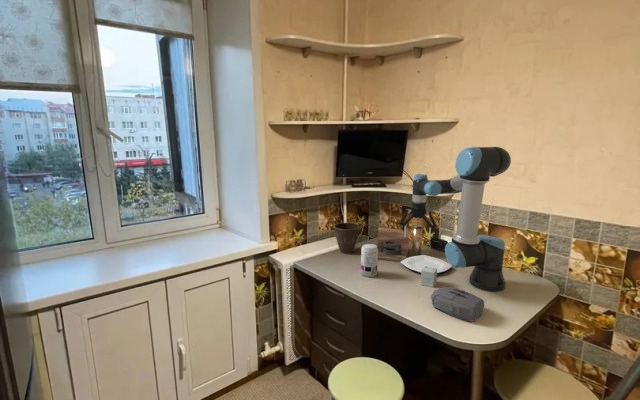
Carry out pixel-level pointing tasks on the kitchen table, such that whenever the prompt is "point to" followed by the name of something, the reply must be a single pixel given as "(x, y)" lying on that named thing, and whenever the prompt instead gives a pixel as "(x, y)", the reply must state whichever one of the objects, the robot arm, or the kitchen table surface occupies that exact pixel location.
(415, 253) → the clear glass cylinder
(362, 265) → the supplement can
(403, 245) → the transparent box
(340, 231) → the plant pot
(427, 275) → the skincare box
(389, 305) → the kitchen table surface
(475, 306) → the soft grey pack
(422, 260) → the plate
